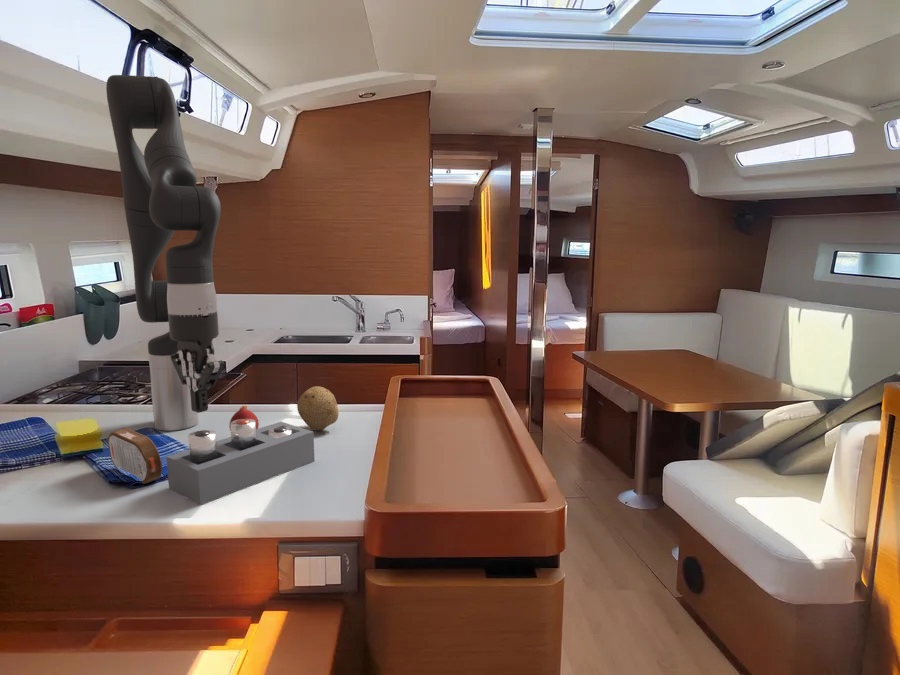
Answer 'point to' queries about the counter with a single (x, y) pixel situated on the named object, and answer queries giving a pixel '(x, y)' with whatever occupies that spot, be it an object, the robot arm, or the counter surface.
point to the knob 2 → (279, 432)
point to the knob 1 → (202, 445)
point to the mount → (239, 464)
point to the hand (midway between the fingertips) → (200, 410)
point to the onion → (244, 415)
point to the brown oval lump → (318, 408)
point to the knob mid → (243, 433)
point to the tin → (135, 454)
